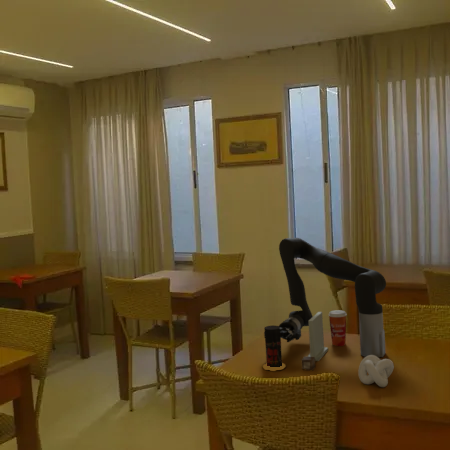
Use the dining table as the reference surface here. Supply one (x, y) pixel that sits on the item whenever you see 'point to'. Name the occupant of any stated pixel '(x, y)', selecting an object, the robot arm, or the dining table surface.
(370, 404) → the dining table surface
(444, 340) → the dining table surface
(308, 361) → the letter cube
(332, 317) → the paper cup
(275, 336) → the deodorant
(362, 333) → the robot arm
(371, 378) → the white knot sculpture
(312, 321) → the screen
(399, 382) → the dining table surface
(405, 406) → the dining table surface
